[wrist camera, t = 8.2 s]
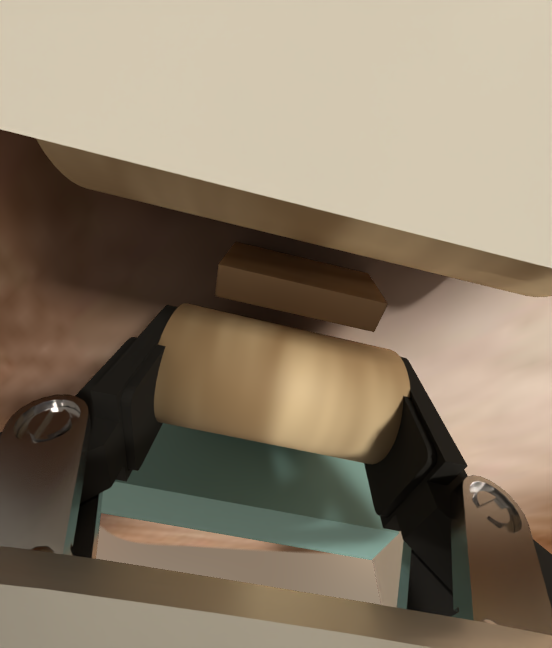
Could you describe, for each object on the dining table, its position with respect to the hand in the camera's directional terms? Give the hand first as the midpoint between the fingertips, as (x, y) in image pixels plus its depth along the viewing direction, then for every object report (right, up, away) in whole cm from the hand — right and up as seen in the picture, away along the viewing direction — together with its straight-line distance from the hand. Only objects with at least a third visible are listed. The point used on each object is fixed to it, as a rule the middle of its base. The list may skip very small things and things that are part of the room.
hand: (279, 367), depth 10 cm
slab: (+2, +9, -8) cm, 12 cm away
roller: (0, +1, +1) cm, 1 cm away
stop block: (-1, -3, +5) cm, 6 cm away
